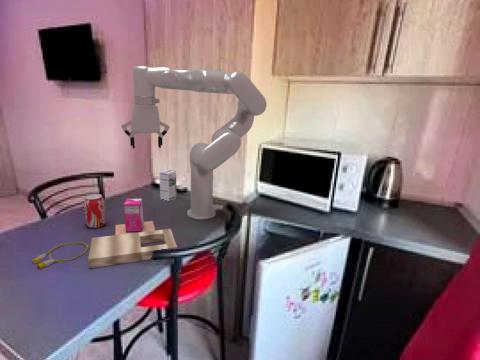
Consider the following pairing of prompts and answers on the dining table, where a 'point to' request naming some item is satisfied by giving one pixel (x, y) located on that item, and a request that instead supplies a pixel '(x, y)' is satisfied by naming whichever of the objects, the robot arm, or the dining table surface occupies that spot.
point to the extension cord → (51, 261)
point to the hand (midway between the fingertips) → (146, 147)
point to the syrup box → (168, 185)
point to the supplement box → (133, 215)
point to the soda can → (94, 210)
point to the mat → (122, 230)
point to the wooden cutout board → (127, 247)
